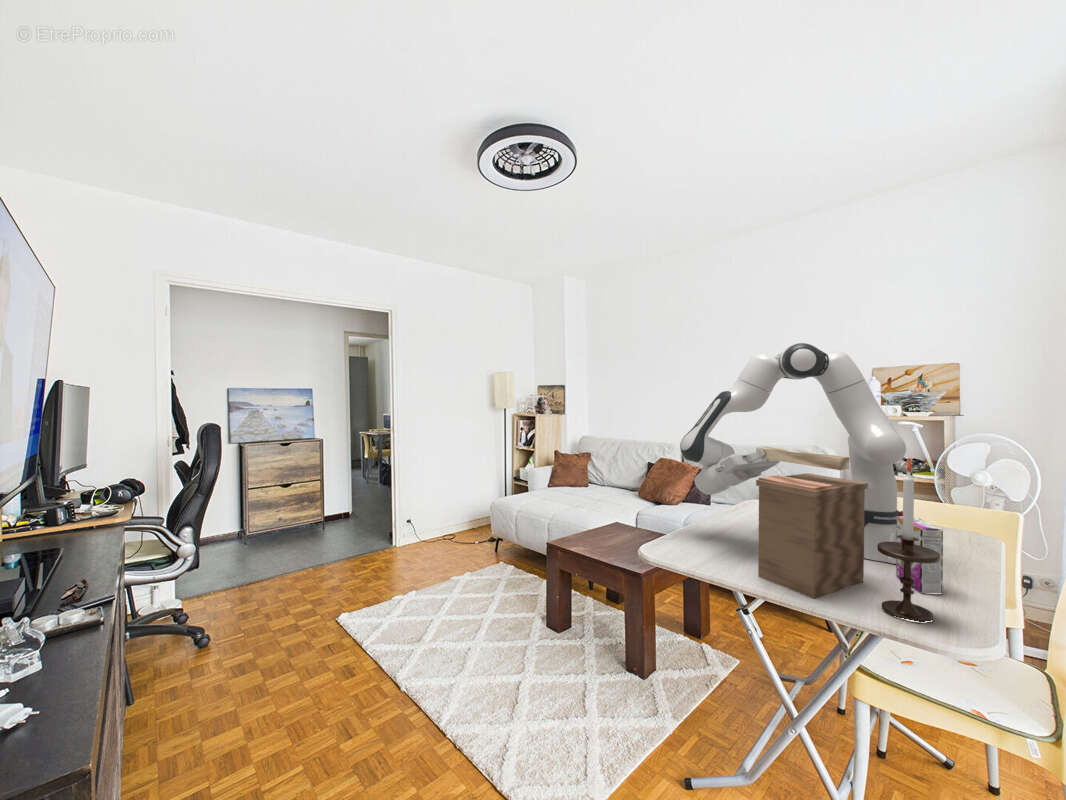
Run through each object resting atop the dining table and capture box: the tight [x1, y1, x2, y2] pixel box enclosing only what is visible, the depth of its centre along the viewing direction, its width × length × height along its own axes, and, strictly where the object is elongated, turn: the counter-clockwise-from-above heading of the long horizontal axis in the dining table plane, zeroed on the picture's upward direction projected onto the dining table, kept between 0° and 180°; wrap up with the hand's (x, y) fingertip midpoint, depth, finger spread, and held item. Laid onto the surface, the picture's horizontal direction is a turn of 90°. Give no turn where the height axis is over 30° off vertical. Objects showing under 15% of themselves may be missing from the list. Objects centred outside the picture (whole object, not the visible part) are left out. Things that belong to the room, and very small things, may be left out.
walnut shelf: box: [755, 472, 868, 600], centre depth 122 cm, size 22×16×26 cm
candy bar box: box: [895, 516, 944, 594], centre depth 118 cm, size 11×5×16 cm, turn 168°
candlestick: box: [878, 457, 940, 622], centre depth 103 cm, size 11×11×35 cm
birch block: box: [755, 446, 850, 471], centre depth 128 cm, size 4×24×3 cm, turn 26°
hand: (770, 451), depth 136 cm, fingers closed on birch block, 4 cm apart
